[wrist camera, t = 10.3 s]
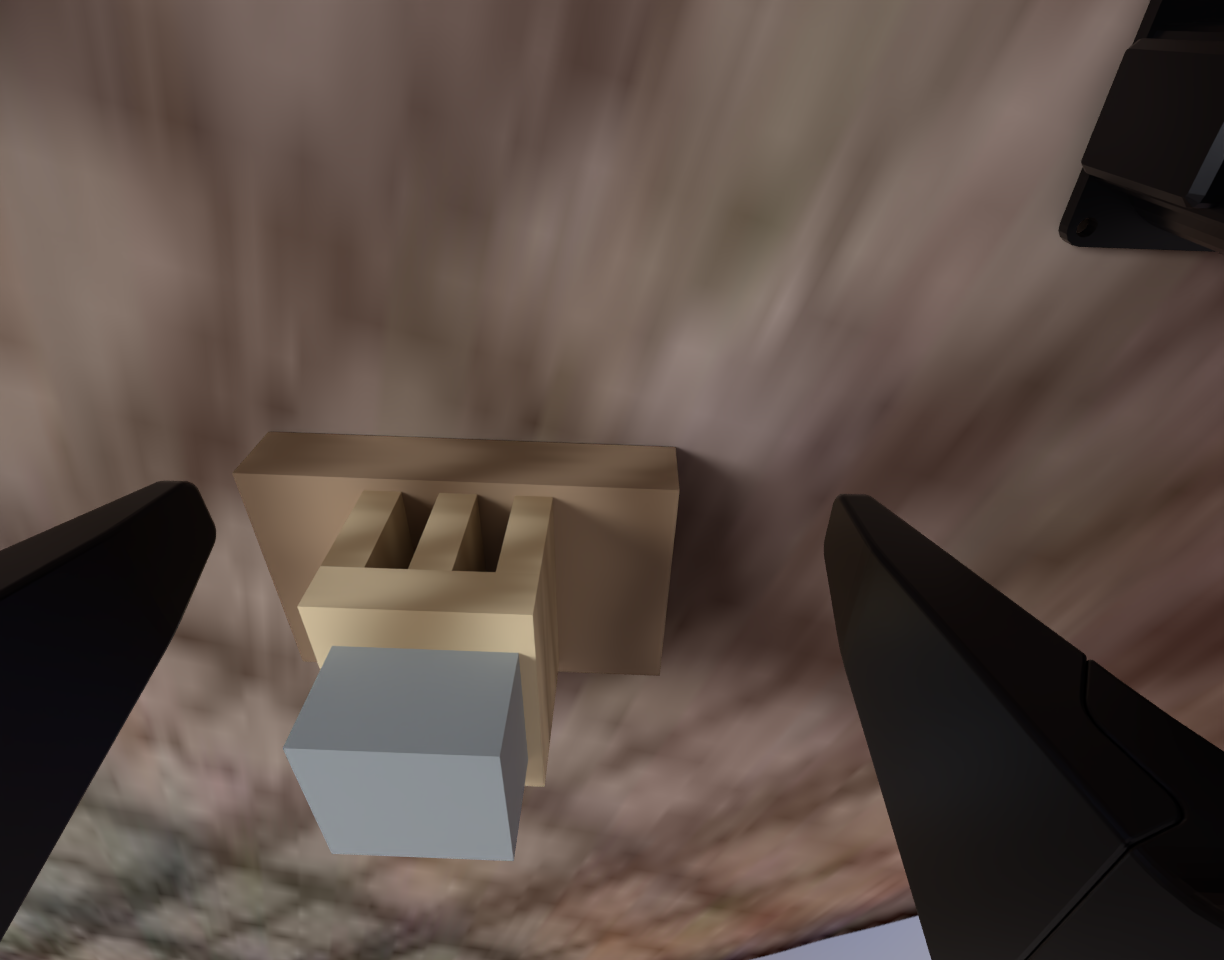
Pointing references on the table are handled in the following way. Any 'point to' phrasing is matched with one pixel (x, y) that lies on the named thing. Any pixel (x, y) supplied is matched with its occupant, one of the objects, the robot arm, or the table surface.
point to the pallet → (446, 593)
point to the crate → (414, 752)
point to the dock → (488, 523)
